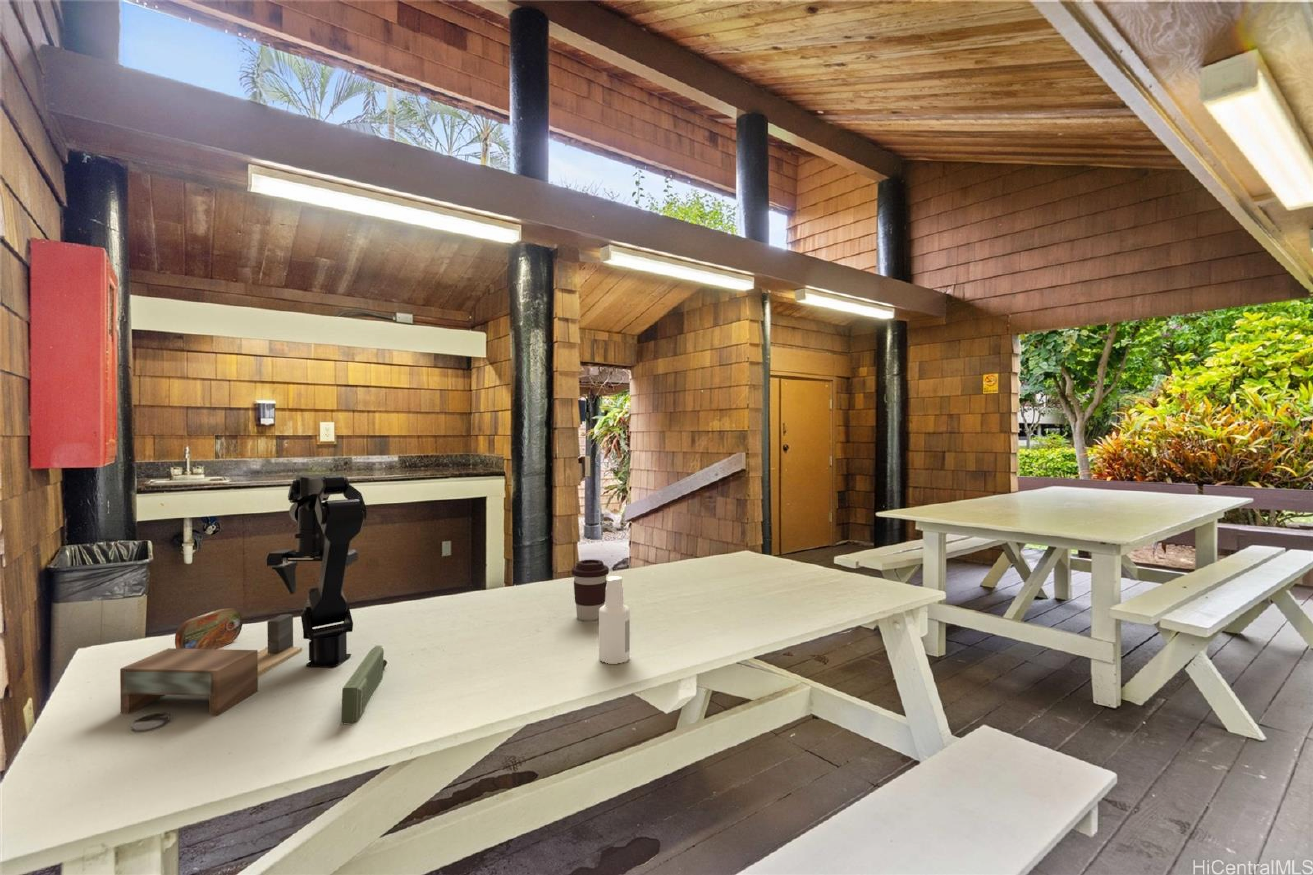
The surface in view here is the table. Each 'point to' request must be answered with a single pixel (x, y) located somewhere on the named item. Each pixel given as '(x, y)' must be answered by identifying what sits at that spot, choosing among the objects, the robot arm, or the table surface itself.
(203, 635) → the tin
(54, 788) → the table surface
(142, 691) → the wooden bridge block
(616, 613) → the spray bottle
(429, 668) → the table surface
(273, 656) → the scraper
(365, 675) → the handheld radio
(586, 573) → the coffee cup
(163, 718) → the token
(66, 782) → the table surface
